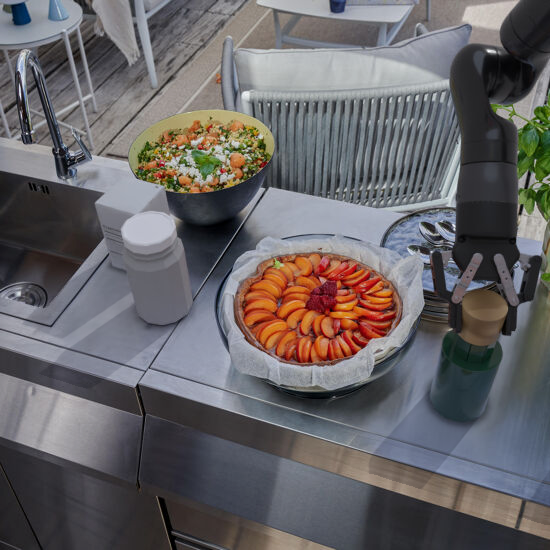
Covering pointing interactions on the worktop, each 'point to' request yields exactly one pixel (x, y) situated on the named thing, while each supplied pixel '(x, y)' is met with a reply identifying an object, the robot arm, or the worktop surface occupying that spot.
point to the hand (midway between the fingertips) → (481, 333)
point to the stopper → (482, 317)
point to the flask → (464, 377)
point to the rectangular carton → (127, 210)
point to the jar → (156, 268)
